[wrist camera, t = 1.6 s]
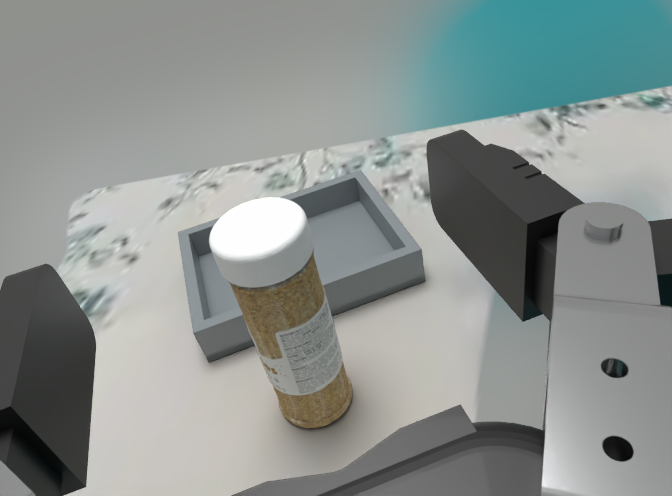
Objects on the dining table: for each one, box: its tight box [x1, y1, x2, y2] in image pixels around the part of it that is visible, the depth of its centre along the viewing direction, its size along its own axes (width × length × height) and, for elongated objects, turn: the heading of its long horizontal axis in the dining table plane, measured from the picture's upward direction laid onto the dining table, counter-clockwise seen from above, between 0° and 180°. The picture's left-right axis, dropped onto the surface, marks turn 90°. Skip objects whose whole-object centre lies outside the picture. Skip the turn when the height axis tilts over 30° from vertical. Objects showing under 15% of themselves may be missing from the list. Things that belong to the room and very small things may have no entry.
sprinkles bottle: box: [209, 197, 352, 428], centre depth 28 cm, size 5×5×14 cm
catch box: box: [178, 170, 425, 362], centre depth 41 cm, size 16×12×3 cm
